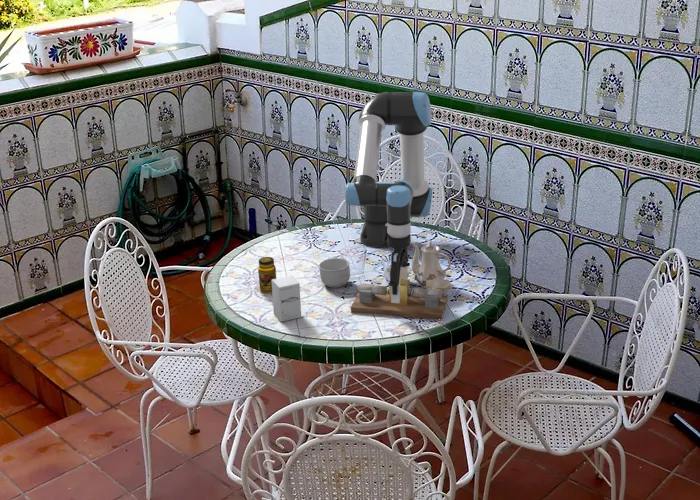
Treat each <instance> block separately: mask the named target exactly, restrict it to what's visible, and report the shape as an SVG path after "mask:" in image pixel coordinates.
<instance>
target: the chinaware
mask: <svg viewBox="0 0 700 500" xmlns="http://www.w3.org/2000/svg"><path fill="white" fill-rule="evenodd" d="M413 247H414V254H413V257H412V259H411V268H410V266H406V267H407V279H409V276H410V273H411V272H412V273H413V274H414V279H415V281H416V283H417V284H418V286H419V287H420V286H421V288H422V289H440V290H442V295H446V296H448V298H449V297H452V296H453V295H454V290H453V289H452V288H451V286H452V284H451V281H450V280H449V279H445V278H446V277H447V276H446V274H447V272H448V271H449V270H450V268H451V265H452V263H451V259H450V257H449V256H448V255H447V254H445V253H442V252H439V251H440V247H439V246H437V245H435V244H433V242H432V241H431V240H429V241H428V243H427V244H425V245H423V246H421V247H419V246H418V245H417V244H416V243H415V244H413ZM420 250H421V254H422V255H421V256H422V259H421V263H420ZM442 256H443V257H445V259H446V261H447V262H448V266H447V268H445V269H443V268H442V267H441V264H440V260H439V259H441V258H442ZM386 272H387V273H388V275H389V277H390V272H391V266H390V267H388V268H386ZM448 291H451V292H452V294H451V295H450V294H447V293H448Z"/></svg>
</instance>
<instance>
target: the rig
mask: <svg viewBox="0 0 700 500" xmlns="http://www.w3.org/2000/svg"><path fill="white" fill-rule="evenodd" d="M356 291H357V295H356V297H355V299H354V301H352V304H351V306H350V313H354V314H355V313H356V314H365V315H366V314H367V315H374V316H375V315H377V316H378V315H379V316H390V317H398V318H399V317H402V318H411V319H412V318H413V319H424V320H434V319H438V320H437V321H442V320H441V319H443V317H442V316H444V314H443V313H445V310H446V306H447V304H448V300H449V299H448V298H449V296H447V294H446V295H442V290H440V289H427V288H417V287H415V288H413V287H412V293H411V296H410V300H409V302H408V305H398V304H389V295H388V286H387V285H376V284H374V283H363V284H361V283H358V284H357V289H356ZM439 319H440V320H439Z"/></svg>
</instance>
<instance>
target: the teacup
mask: <svg viewBox="0 0 700 500" xmlns="http://www.w3.org/2000/svg"><path fill="white" fill-rule="evenodd" d="M318 269H319V276H320V280H321V283H323V284H324V285H325V286H327V287H329V288H340V287H343V286H345V285H346V284H347V283H348V282H349V280H350V277H351V271H350V261H349V260H347V259H345V258H341V257H338V256H335V255H334V256H332V258H327V259H325V260H323V261H321V262H319V264H318Z"/></svg>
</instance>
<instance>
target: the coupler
mask: <svg viewBox="0 0 700 500" xmlns="http://www.w3.org/2000/svg"><path fill="white" fill-rule="evenodd" d="M399 284H400V303H391V286H390V285H388V286H387V291H388V295H389V304H398V305H408V302H409V300H410V296H411V293H412V291H413V289H412V288H411V280H410V279H409V278H407V279H399Z"/></svg>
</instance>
